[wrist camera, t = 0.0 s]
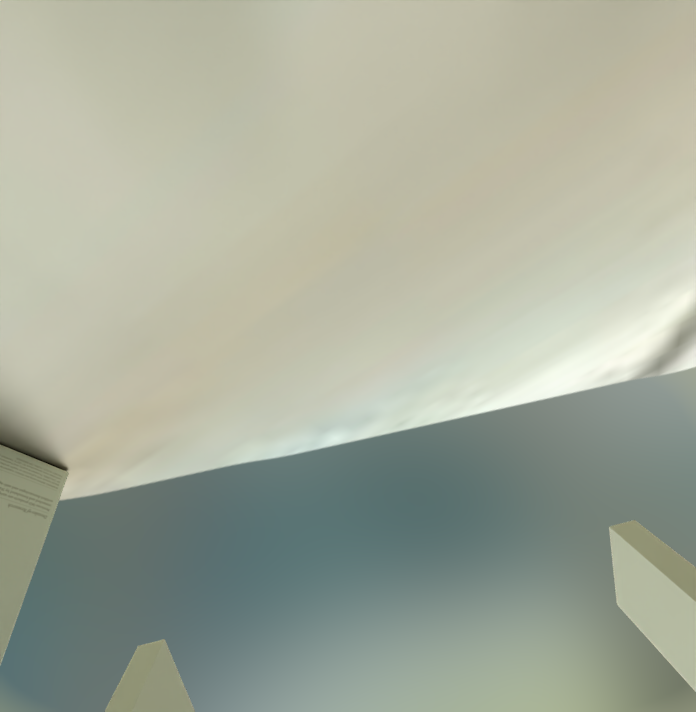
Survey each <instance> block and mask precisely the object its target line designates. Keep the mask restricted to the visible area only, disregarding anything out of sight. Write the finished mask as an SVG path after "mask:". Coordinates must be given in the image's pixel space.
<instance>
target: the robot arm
mask: <svg viewBox="0 0 696 712" xmlns="http://www.w3.org/2000/svg"><path fill="white" fill-rule="evenodd" d="M609 531H610V540H611V551H612V561H613V571H614V580H615V591H616V600H617V605H618V606H619V607H620V608H621V609H622V610H623V612H624V613H625V614H626V615H627V616H628V617H629V618H630V619H631V620H632V622H633V623H634V624H635V625H636V626H637V627H638V628H639V629H640V630H641V632H642V633H643V634H644V635H645V636H646V637H647V638H648V639H649V640H650V641H651V643H652V644H653V645H654V646H655V647H656V648H657V649H658V650H659V652H660V653H661V654H662V655H663V656H664V657H665V658H666V659H667V660H668V662H669V663H670V664H671V665H672V666H673V667H674V668H675V669H676V670H677V672H678V673H679V674H680V675H681V676H682V677H683V678H684V679H685V680H686V681H687V683H688V684H689V685H690V686H691V687H692V688H693V689H694V690H695V692H696V567H694V566H693V565H692V564H691V563H689V562H688V561H687V560H685V559H684V558H683V557H682V556H680V555H679V554H678V553H676V552H675V551H674V550H672V549H671V548H670V547H669V546H667V545H666V544H665V543H663V542H662V541H661V540H659V539H658V538H657V537H656V536H654V535H653V534H652V533H651V532H649V531H648V530H647V529H645V528H644V527H643V526H642V525H640V524H639V523H637V522H636V521H635V520H633V521H629V522H625V523H621V524H617V525H613V526H610V527H609ZM105 712H195V710H194V708H193V706H192V704H191V701H190V699H189V696H188V694H187V691H186V689H185V687H184V685H183V682H182V680H181V677H180V675H179V673H178V670H177V668H176V665H175V663H174V661H173V658H172V656H171V654H170V651H169V649H168V647H167V644H166V642H165V640H164V639H163V640H159V641H156V642H152V643H148V644H144V645H140V646H138V647H137V649H136V651H135V653H134V655H133V657H132V659H131V661H130V663H129V665H128V667H127V669H126V671H125V673H124V675H123V676H122V679H121V680H120V682H119V684H118V686H117V688H116V690H115V692H114V694H113V696H112V698H111V700H110V702H109V704H108V706H107V708H106V710H105Z"/></svg>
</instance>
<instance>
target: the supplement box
mask: <svg viewBox="0 0 696 712" xmlns="http://www.w3.org/2000/svg"><path fill="white" fill-rule="evenodd" d="M67 476H68V472H67V471H64V470H62V469H59V468H57V467H54V466H52V465H49V464H47V463H44V462H42V461H40V460H37V459H35V458H32V457H30V456H27V455H25V454H22V453H20V452H17V451H15V450H13V449H10V448H8V447H5V446H3V445H0V665H1V662H2V659H3V656H4V653H5V651H6V648H7V645H8V642H9V639H10V636H11V633H12V631H13V628H14V625H15V622H16V620H17V617H18V614H19V611H20V608H21V606H22V603H23V600H24V597H25V594H26V591H27V589H28V586H29V583H30V581H31V578H32V574H33V572H34V569H35V566H36V563H37V561H38V558H39V555H40V552H41V550H42V547H43V544H44V541H45V538H46V535H47V533H48V530H49V527H50V524H51V521H52V519H53V516H54V513H55V510H56V507H57V504H58V501H59V499H60V496H61V493H62V490H63V487H64V485H65V482H66V479H67Z"/></svg>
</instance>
